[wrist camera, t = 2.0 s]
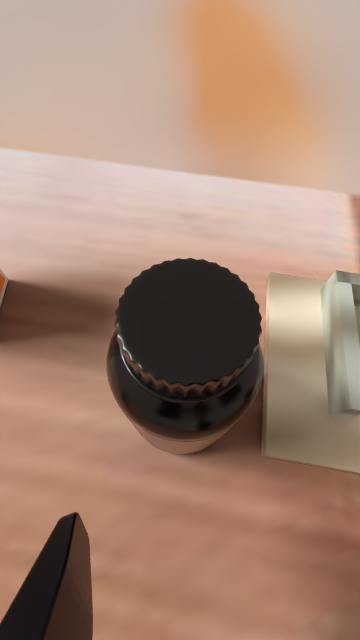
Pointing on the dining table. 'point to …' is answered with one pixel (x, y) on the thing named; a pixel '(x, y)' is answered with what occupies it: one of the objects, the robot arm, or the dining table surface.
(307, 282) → the cradle board
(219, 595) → the dining table surface
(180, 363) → the supplement bottle
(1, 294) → the skincare box
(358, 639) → the dining table surface
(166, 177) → the dining table surface
